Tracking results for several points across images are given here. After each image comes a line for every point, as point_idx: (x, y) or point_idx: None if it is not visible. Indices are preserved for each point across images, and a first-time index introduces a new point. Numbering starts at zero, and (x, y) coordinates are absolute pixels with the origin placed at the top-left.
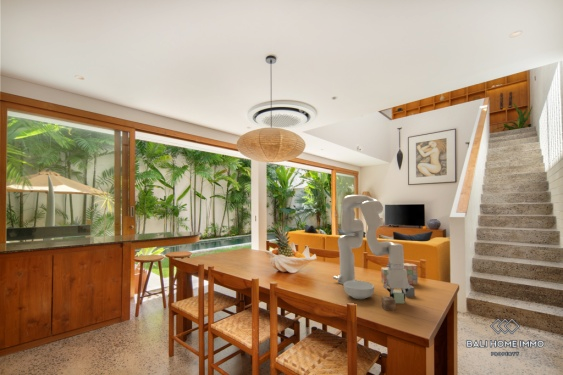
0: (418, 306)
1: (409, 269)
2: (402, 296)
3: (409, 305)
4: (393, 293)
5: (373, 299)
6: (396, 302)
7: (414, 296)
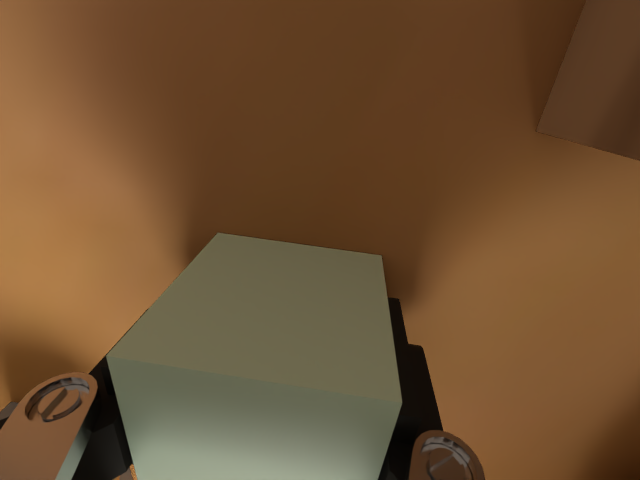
0: (4, 60)
1: None
2: (190, 310)
3: (160, 131)
4: (384, 436)
5: (616, 425)
6: (349, 259)
7: (12, 404)
